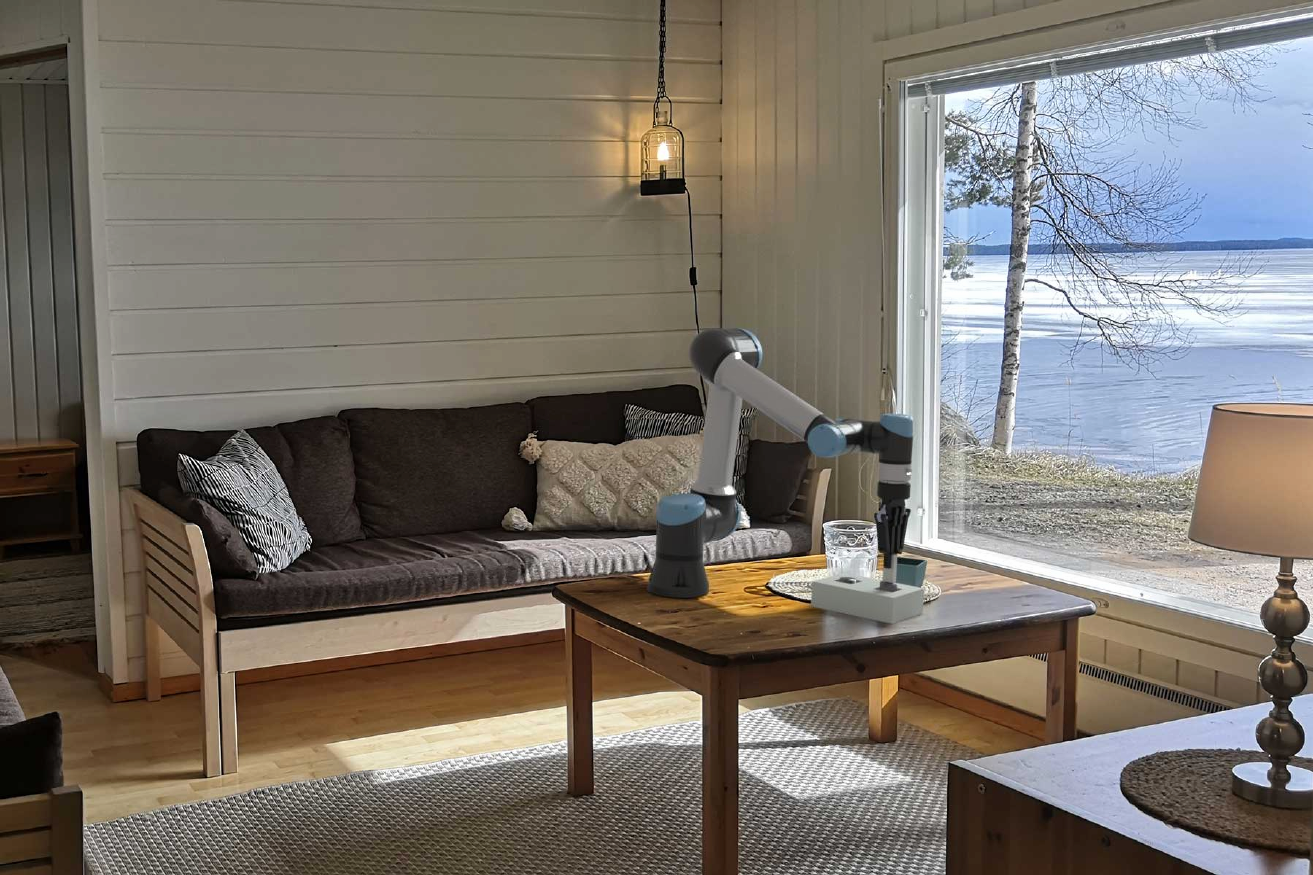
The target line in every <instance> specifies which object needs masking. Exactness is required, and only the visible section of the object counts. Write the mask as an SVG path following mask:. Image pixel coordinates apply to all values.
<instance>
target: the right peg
mask: <svg viewBox="0 0 1313 875" xmlns="http://www.w3.org/2000/svg"><path fill="white" fill-rule="evenodd" d="M880 590H882V591H887V592H896V591H897V582H894V583H891V582H885V581H880Z"/></svg>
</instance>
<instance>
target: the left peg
mask: <svg viewBox="0 0 1313 875" xmlns="http://www.w3.org/2000/svg"><path fill="white" fill-rule="evenodd" d="M839 582H842V583H847V584H854V583H856V579H855V578H852V577H841V578H840V579H839Z"/></svg>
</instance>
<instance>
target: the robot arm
mask: <svg viewBox="0 0 1313 875" xmlns="http://www.w3.org/2000/svg"><path fill="white" fill-rule="evenodd" d="M688 357H689V361H690V364H691V366H692V368H693V369H694V370H695V372H696V373H697V374H699V375H700V376H701V377H703V378H704V379H703V380H704V381H705V382H706V383H707V385H708V387H709V388H708V396H707V404H706V411H705V419H704V420H705V421H704V428H703V435H702V441H701V443H702V444H701V452H700V458H699V466H698V475H697V479H696V481H695V482H693V483H692V484H691V485H690V491H689V493H688V492H687V493H684V492H683V493H678V494H676V493H674V494H670V495H666V496H664V497H662V498H661V499H660V500H659V501H658V503H657V508H656V509H657V510H656V514H655V517H656V536H655V540H656V541H655V559H654V563H653V564H652V565H653V566H652V568H651V571H650V574H649V577H648V580H647V589H646V590H647V591H648V593H650V594H653V595H656V596H660V597H666V598H681V599H685V598H687V599H690V598H698V597H703V596H706V595H708V594H709V592H710V581H709V580H708V577H707V576H708V575H707V571H706V568H705V564H704V544H707V543H713V542H718V541H721V540H723V539H726V538H727V537H730V536H731V535H732V534H733V533H734V532H735V531H736V530H737V528H738V527H739V525H740V524H741V519H742V509H741V506H740V504H739V503H738V499H737V490H736V488H734V486H733V485H732V482H733V476H734V475H733V474H734V467H735V458H736V451H737V444H738V437H739V429H740V423H741V422H740V421H741V414H742V407H743V400H744V401H745V402H746V403H748V404H750V405H751V406H753V407H754V408H756V409H757V410H758V411H760V412H761V413H763V414H765V415H766V416H768V417H769V418H770V419H772V420H773V421H775V422H776V423H778V424H779V425H780V426H782V427H783V428H785V429H787V430H788V431H789V432H790V433H792V434H794V435H795V436H797V437H798V438H800V439H801V440H803V441H804V442H806V443H807V444H808V445H807V446H808V448H809V450H810V451H811V453H812V455H814V456H816V457H818V458H822V459H823V458H824V459H825V458H826V459H830V458H836V457H839V456H843V455H844V456H845V455H849V454H854V453H867V454H875V455H876V454H878V465H877V466H878V467H877V468H878V469H877V470H878V471H877V479H878V480H879V481H877V486H876V489H877V491H876V496H877V497H878V498H879V499H881V502H880V503H881V504H880V505H879V506H880V511H879V512H875V513H874V514H873V517H874V520H875V525H876V539H877V540H876V541H877V550H878V552H879V553H880V554H882V555H883V565H882V566H883V567H882V580H883V581H885V582H891V583H894V582H896V572H897V557H898V555H902V554H903V551H902V550H904V548H905V547H904V546H905V540H906V535H907V528H908V522H909V518H910V515H911V512H912V510H911V508H907V507H906V500H908V499H910V498H911V487H912V486H911V483H910V482H909V481H911V478H912V472H913V469H912V462H913V460H912V458H913V444H914V443H913V442H914V437H915V436H914V419H913V417H912V416H911V415H909V414H905V413H904V414H903V413H884V414H881V416H880V420H878V421H875V420H873V421H872V420H861V419H853V418H836V419H835V420H834V419H832V418H830V417H829V416H827V415H826V414H824V413H823V412H821V411H820V410H819V409H817V408H815V407H814V406H812V405H811V404H809V403H808V402H806V401H805V400H804V399H802V398H801V397H799V396H797V395H796V394H794V393H793V392H792V391H790V390H788V389H786V387H784V386H782V385H781V384H780V383H778V382H777V381H775V380H773V379H772V378H770V377H769V376H767V375H766V374H765V373H763V372H762V371H760V370H758V368H759V367H760V366H761V363H762V360H763V348H762V345H761V342H760V340H758V338H757V336H756V335H755V334H754V333H752V332H751V331H750V330H747V329H744V328H738V327H723V328H708V329H705V330H702V331H700V332H699V333H698V334H696V336H695V337H694V338H693V339H692V341H691V343H690V346H689V348H688Z"/></svg>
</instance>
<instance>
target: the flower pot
mask: <svg viewBox="0 0 1313 875" xmlns="http://www.w3.org/2000/svg"><path fill="white" fill-rule="evenodd" d="M927 564H928V559H922V558H911V557H902V556H897V572H896V582H897V583H899V584H904V585H909V586H914V587H919V588H922V586H923V584H924V580H925V578H926V570H927Z"/></svg>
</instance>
